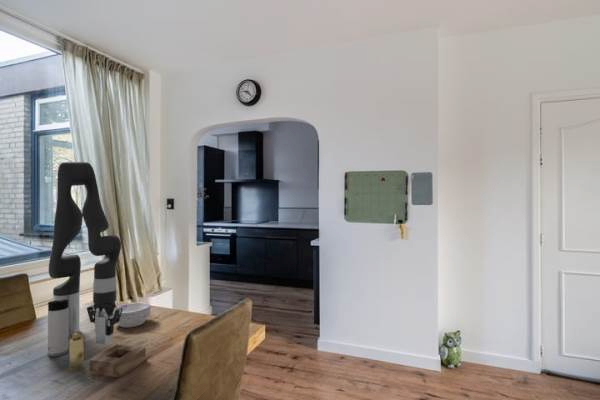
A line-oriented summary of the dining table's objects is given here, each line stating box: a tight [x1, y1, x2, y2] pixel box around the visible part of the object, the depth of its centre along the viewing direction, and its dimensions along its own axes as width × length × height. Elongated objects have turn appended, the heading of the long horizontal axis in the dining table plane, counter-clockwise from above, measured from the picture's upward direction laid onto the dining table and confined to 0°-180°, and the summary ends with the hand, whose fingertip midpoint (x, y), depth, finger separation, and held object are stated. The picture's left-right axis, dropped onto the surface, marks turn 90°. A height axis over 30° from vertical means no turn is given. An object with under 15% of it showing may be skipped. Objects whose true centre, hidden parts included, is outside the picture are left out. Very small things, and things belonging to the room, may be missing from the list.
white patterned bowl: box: [116, 301, 151, 328], centre depth 153 cm, size 15×15×8 cm
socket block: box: [89, 344, 147, 378], centre depth 114 cm, size 12×12×4 cm
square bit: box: [95, 311, 114, 345], centre depth 125 cm, size 4×4×12 cm
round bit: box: [68, 331, 85, 372], centre depth 113 cm, size 4×4×12 cm
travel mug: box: [47, 299, 70, 358], centre depth 124 cm, size 6×7×20 cm
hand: (104, 334), depth 125 cm, fingers closed on square bit, 4 cm apart
